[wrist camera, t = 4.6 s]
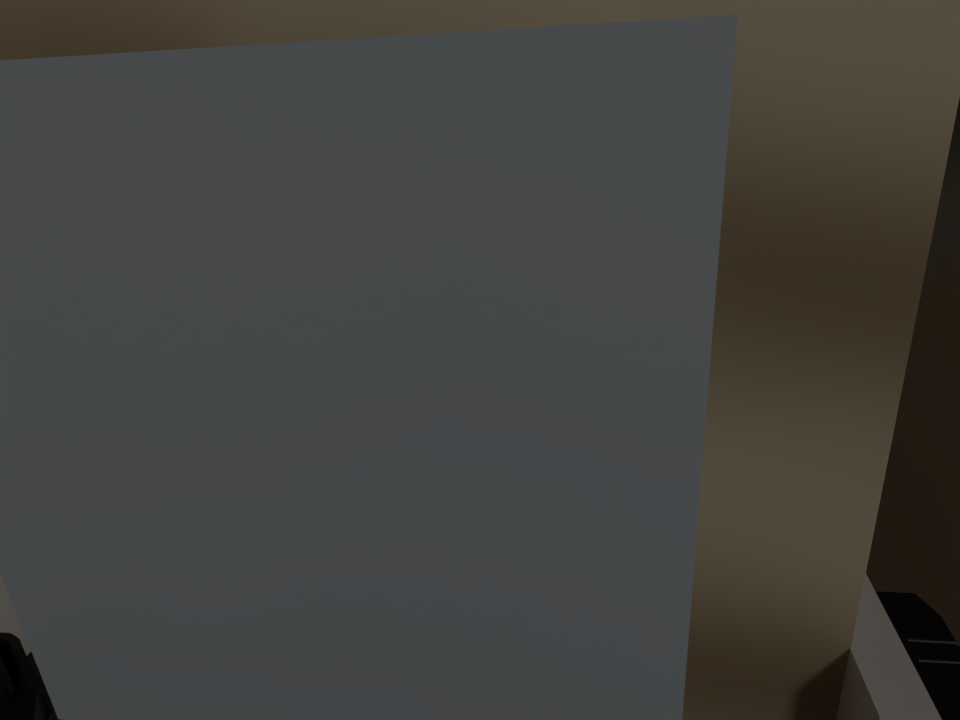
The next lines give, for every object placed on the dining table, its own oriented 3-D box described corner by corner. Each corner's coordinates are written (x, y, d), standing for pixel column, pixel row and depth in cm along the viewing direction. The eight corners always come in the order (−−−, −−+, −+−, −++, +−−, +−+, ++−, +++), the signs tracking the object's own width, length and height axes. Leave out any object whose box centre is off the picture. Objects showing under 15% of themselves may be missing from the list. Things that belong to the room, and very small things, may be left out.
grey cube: (635, 433, 9) (677, 770, 5) (285, 427, 10) (57, 719, 6) (650, 27, 8) (738, 12, 3) (217, 54, 8) (-198, 73, 4)
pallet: (714, 799, 21) (763, 1092, 15) (350, 767, 23) (268, 1022, 17) (809, -68, 12) (1009, -165, 7) (207, -23, 14) (-68, -67, 8)
